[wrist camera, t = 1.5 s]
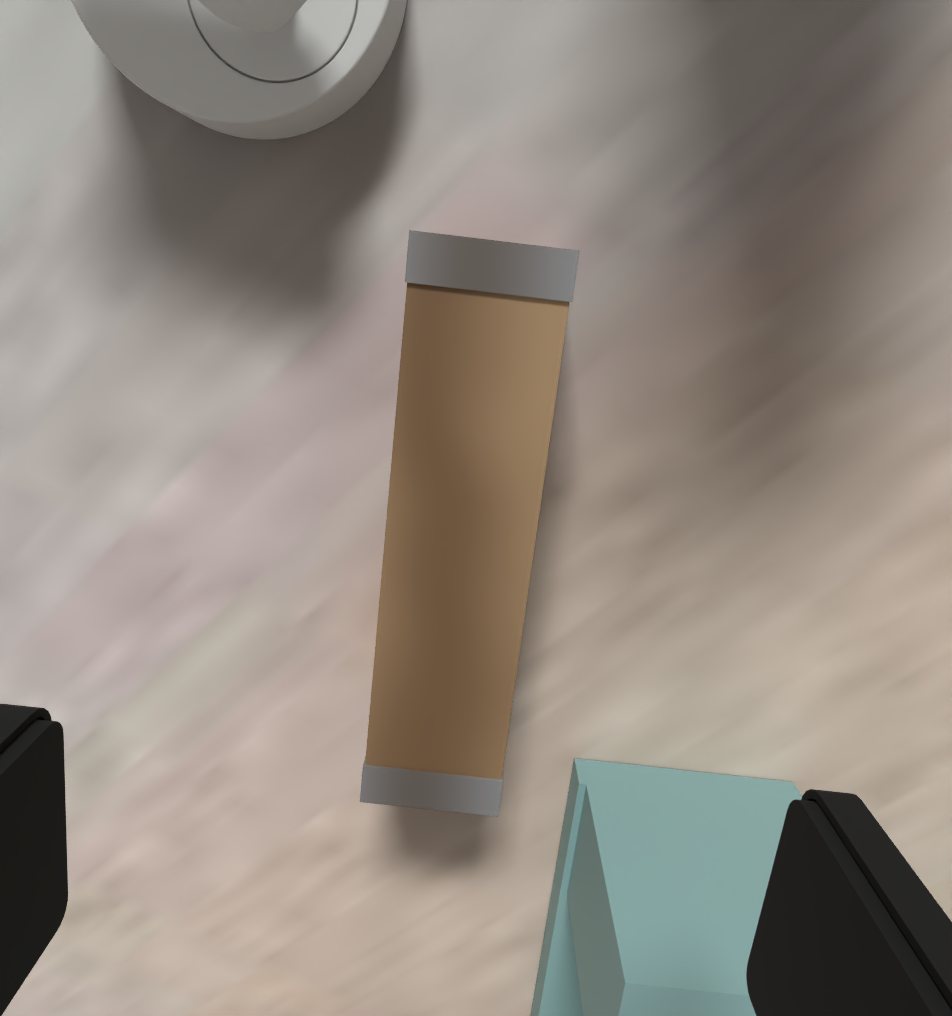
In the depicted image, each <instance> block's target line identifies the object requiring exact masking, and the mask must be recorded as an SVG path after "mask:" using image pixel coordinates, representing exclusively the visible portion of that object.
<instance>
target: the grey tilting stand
mask: <svg viewBox="0 0 952 1016" xmlns="http://www.w3.org/2000/svg"><path fill="white" fill-rule="evenodd" d="M71 1H72V3H73V5H74V7H75V9H76V11H77V13H78V15H79V17H80V19H81V21H82V22H83V24H84V26H85V28H86V29H87V31H88V32H89V34H90V35H91V37H92V38H93V40H94V41H95V43H96V44H97V45H98V47H99V48H100V49H101V51H102V52H103V53H104V54H105V55H106V57H107V58H108V59H109V60H110V61H111V62H112V64H113V65H114V66H115V67H116V68H117V69H118V70H119V71H120V72H121V73H122V74H123V75H124V76H126V77H127V78H128V79H129V80H130V81H131V82H132V83H134V84H135V85H136V86H137V87H139V88H140V89H141V90H143V91H144V92H145V93H147V94H148V95H150V96H151V97H153V98H154V99H156V100H158V101H159V102H161V103H163V104H165V105H167V106H168V107H170V108H172V109H174V110H176V111H177V112H179V113H181V114H183V115H185V116H186V117H188V118H190V119H192V120H194V121H196V122H197V123H199V124H201V125H203V126H206V127H208V128H210V129H212V130H215V131H218V132H221V133H224V134H227V135H231V136H235V137H241V138H246V139H257V140H272V139H283V138H289V137H294V136H298V135H302V134H305V133H308V132H311V131H313V130H316V129H318V128H320V127H322V126H325V125H326V124H328V123H330V122H332V121H333V120H335V119H337V118H338V117H339V116H341V115H342V114H344V113H345V112H346V111H348V110H349V109H350V108H351V107H353V106H354V105H355V104H356V103H357V102H358V101H359V100H360V99H361V98H362V97H363V96H364V95H365V94H366V93H367V91H368V90H369V89H370V88H371V87H372V85H373V84H374V83H375V81H376V80H377V79H378V77H379V76H380V74H381V72H382V71H383V69H384V68H385V66H386V64H387V62H388V60H389V58H390V56H391V54H392V52H393V50H394V47H395V45H396V42H397V39H398V37H399V34H400V30H401V27H402V23H403V19H404V15H405V9H406V4H407V0H71Z"/></svg>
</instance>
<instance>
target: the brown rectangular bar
mask: <svg viewBox="0 0 952 1016" xmlns="http://www.w3.org/2000/svg"><path fill="white" fill-rule="evenodd" d="M578 257H579V251H577V250H569V249H560V248H552V247H544V246H536V245H527V244H519V243H511V242H502V241H494V240H486V239H477V238H469V237H461V236H452V235H444V234H436V233H427V232H419V231H411V230H409V240H408V252H407V263H406V275H405V282H407V292H406V303H405V315H404V326H403V338H402V349H401V360H400V372H399V383H398V395H397V406H396V418H395V429H394V441H393V452H392V464H391V475H390V486H389V498H388V509H387V521H386V532H385V544H384V555H383V567H382V578H381V589H380V601H379V612H378V624H377V635H376V647H375V658H374V670H373V681H372V692H371V704H370V715H369V727H368V738H367V750H366V757H365V761H364V764H363V772H362V783H361V795H360V802H366V803H375V804H384V805H393V806H403V807H412V808H421V809H431V810H440V811H449V812H458V813H468V814H477V815H486V816H496V817H498V815H499V808H500V801H501V794H502V787H503V766H504V759H505V752H506V745H507V738H508V730H509V723H510V716H511V709H512V702H513V695H514V688H515V681H516V674H517V667H518V660H519V653H520V646H521V639H522V632H523V625H524V618H525V611H526V604H527V597H528V590H529V583H530V576H531V569H532V562H533V555H534V548H535V541H536V534H537V527H538V520H539V513H540V506H541V499H542V492H543V485H544V478H545V471H546V464H547V457H548V450H549V443H550V435H551V428H552V421H553V414H554V407H555V400H556V393H557V386H558V379H559V372H560V365H561V358H562V351H563V344H564V337H565V330H566V323H567V316H568V309H569V302H572V298H573V291H574V284H575V277H576V271H577V264H578Z"/></svg>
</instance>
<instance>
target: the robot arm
mask: <svg viewBox="0 0 952 1016" xmlns="http://www.w3.org/2000/svg"><path fill="white" fill-rule="evenodd" d="M67 901H68V880H67V844H66V809H65V773H64V738H63V728H62V726H61V724H60V723H59V722H56V721H51V716H50V714H49V712H48V711H47V710H46V709H44V708H37V707H27V706H18V705H8V704H0V1016H1V1015H2V1014H3V1012H4V1011H5V1009H6V1008H7V1006H8V1005H9V1003H10V1002H11V1000H12V999H13V997H14V996H15V994H16V993H17V991H18V990H19V988H20V986H21V985H22V983H23V982H24V980H25V979H26V977H27V976H28V974H29V973H30V971H31V970H32V968H33V967H34V965H35V964H36V962H37V961H38V959H39V958H40V956H41V954H42V953H43V951H44V950H45V948H46V947H47V945H48V944H49V942H50V941H51V939H52V938H53V936H54V935H55V933H56V932H57V930H58V928H59V926H60V924H61V922H62V920H63V917H64V914H65V911H66V906H67ZM746 979H747V988H748V994H749V997H750V1000H751V1003H752V1006H753V1008H754V1011H755V1013H756V1016H952V922H951V921H950V919H949V918H948V917H947V915H946V914H945V912H944V911H943V910H942V908H941V907H940V906H939V904H938V903H937V902H936V900H935V899H934V898H933V896H932V895H931V894H930V892H929V891H928V889H927V888H926V887H925V885H924V884H923V883H922V881H921V880H920V879H919V877H918V876H917V875H916V873H915V872H914V871H913V869H912V868H911V866H910V865H909V864H908V862H907V861H906V860H905V858H904V857H903V856H902V854H901V853H900V852H899V850H898V849H897V848H896V846H895V845H894V843H893V842H892V841H891V839H890V838H889V837H888V835H887V834H886V833H885V831H884V830H883V829H882V827H881V826H880V825H879V823H878V822H877V820H876V819H875V818H874V816H873V815H872V814H871V812H870V811H869V810H868V808H867V807H866V806H865V804H864V803H863V802H862V800H861V799H860V798H859V797H858V796H857V795H854V794H850V793H841V792H832V791H822V790H813V789H810V790H808V791H806V792H805V794H804V795H803V796H802V799H801V800H797V799H795V800H793V801H792V802H791V803H790V804H789V807H788V809H787V813H786V817H785V821H784V824H783V828H782V832H781V836H780V840H779V844H778V848H777V851H776V855H775V859H774V863H773V867H772V871H771V874H770V878H769V882H768V886H767V890H766V894H765V898H764V901H763V905H762V909H761V913H760V917H759V921H758V925H757V928H756V932H755V936H754V940H753V944H752V948H751V951H750V955H749V959H748V963H747V972H746Z"/></svg>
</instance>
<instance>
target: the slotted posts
mask: <svg viewBox="0 0 952 1016" xmlns="http://www.w3.org/2000/svg"><path fill="white" fill-rule="evenodd" d="M795 799H797V800H801V799H802V796H801V794H800V792H799V791H798V789H797V787H796V786H795V784H794V782H788V781H779V780H770V779H761V778H751V777H742V776H733V775H724V774H715V773H706V772H696V771H687V770H678V769H669V768H660V767H650V766H641V765H632V764H623V763H614V762H604V761H595V760H586V759H577V758H574V763H573V769H572V775H571V781H570V787H569V793H568V799H567V805H566V811H565V816H564V822H563V828H562V834H561V840H560V846H559V852H558V858H557V863H556V869H555V875H554V881H553V887H552V893H551V899H550V905H549V910H548V916H547V922H546V928H545V934H544V940H543V946H542V952H541V958H540V963H539V969H538V975H537V981H536V987H535V993H534V999H533V1005H532V1010H531V1016H756V1013H755V1011H754V1008H753V1006H752V1003H751V1000H750V997H749V994H748V988H747V979H746V972H747V963H748V959H749V955H750V951H751V948H752V944H753V940H754V936H755V932H756V928H757V925H758V921H759V917H760V913H761V909H762V905H763V901H764V898H765V894H766V890H767V886H768V882H769V878H770V874H771V871H772V867H773V863H774V859H775V855H776V851H777V848H778V844H779V840H780V836H781V832H782V828H783V824H784V821H785V817H786V813H787V809H788V807H789V804H790V803H791V802H792V801H793V800H795Z"/></svg>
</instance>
